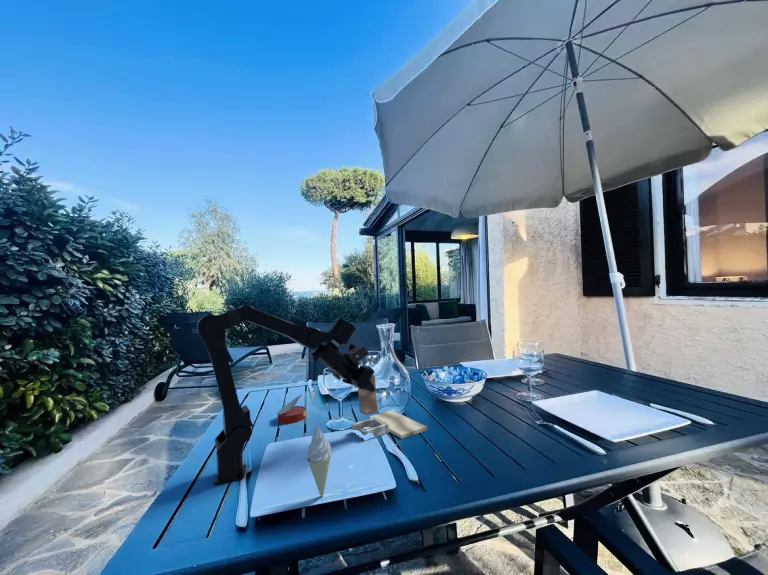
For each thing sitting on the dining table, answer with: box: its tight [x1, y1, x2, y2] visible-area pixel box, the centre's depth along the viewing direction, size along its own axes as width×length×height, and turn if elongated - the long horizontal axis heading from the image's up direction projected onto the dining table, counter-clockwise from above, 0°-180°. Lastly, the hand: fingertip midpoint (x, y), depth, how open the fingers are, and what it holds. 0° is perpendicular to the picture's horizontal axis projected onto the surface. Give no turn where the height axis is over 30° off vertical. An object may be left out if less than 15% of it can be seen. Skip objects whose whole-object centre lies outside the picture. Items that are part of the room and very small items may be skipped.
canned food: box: [276, 394, 307, 425], centre depth 117 cm, size 11×10×10 cm
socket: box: [351, 409, 428, 440], centre depth 102 cm, size 18×20×2 cm
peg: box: [357, 374, 378, 416], centre depth 100 cm, size 4×4×11 cm
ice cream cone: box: [306, 423, 332, 497], centre depth 69 cm, size 5×5×15 cm
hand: (370, 389), depth 101 cm, fingers closed on peg, 4 cm apart
